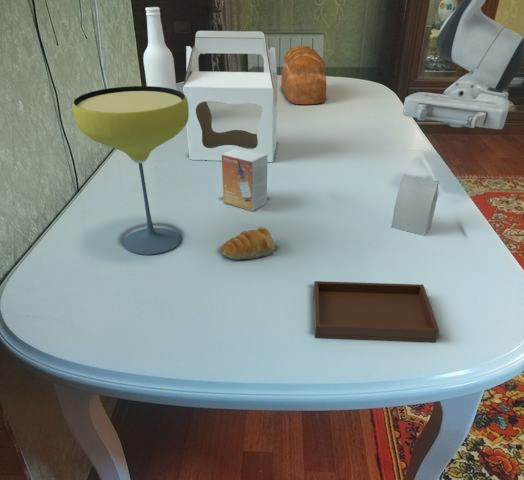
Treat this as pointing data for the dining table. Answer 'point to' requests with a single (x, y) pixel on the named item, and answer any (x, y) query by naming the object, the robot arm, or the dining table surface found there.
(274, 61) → the gable box
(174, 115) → the cocktail glass
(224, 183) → the small box
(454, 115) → the robot arm
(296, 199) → the dining table surface
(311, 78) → the bread
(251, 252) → the pastry
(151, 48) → the alcohol
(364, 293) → the tray
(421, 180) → the grey rectangular block
